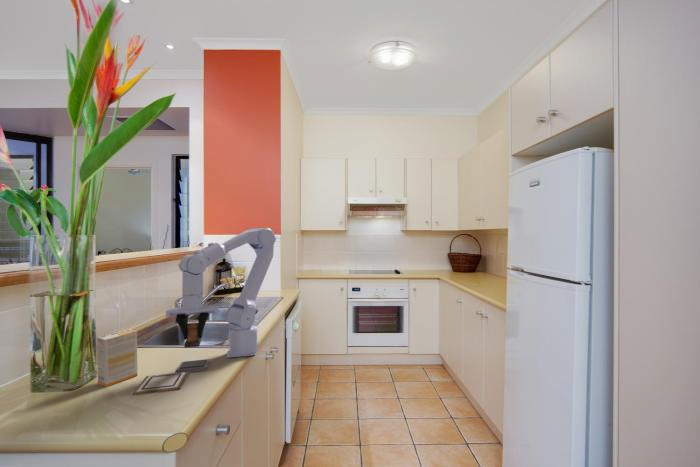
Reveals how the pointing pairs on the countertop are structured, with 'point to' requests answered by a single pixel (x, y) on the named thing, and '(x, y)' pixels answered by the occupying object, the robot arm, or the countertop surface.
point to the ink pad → (193, 366)
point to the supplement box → (117, 357)
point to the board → (161, 383)
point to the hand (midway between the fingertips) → (193, 338)
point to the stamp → (192, 335)
